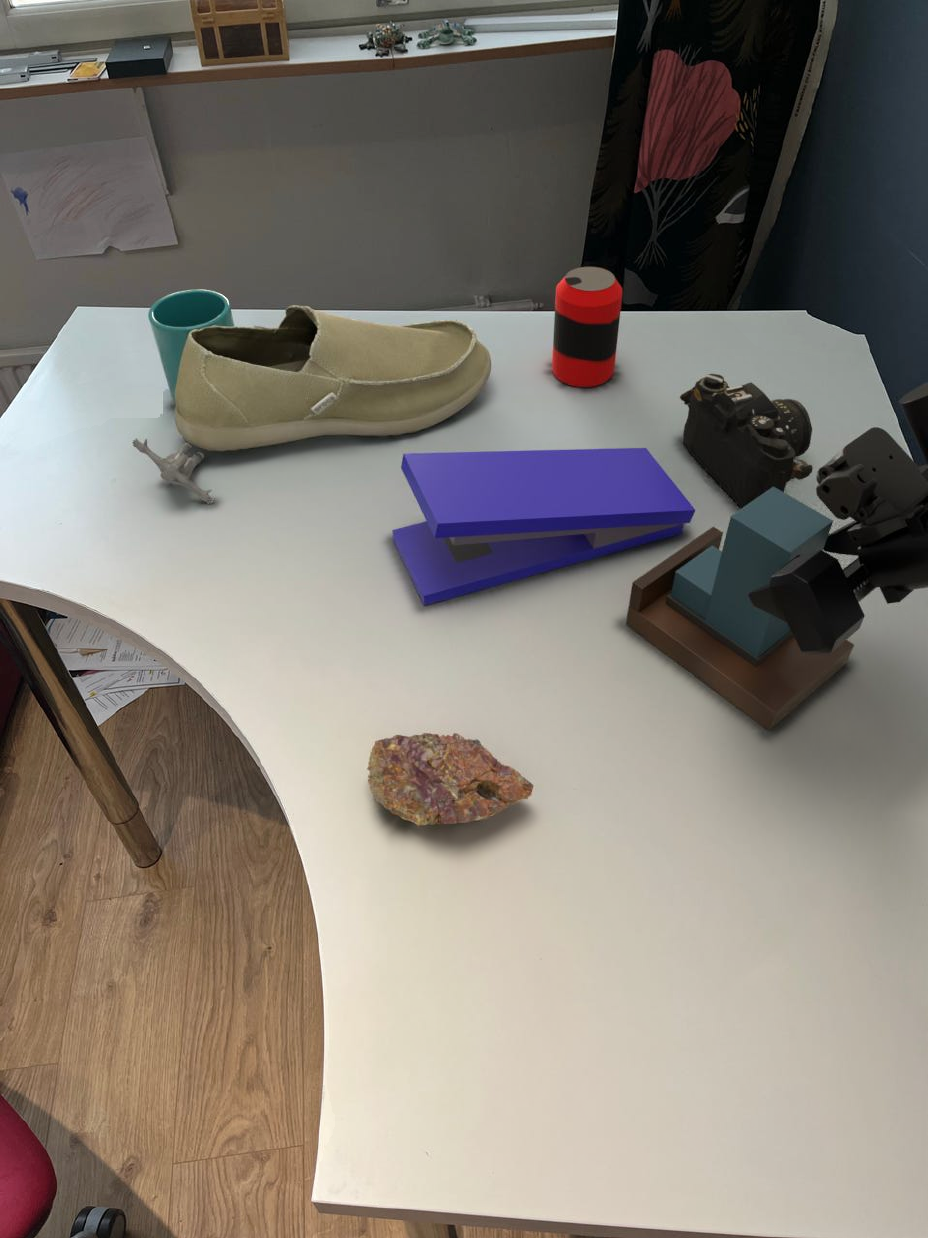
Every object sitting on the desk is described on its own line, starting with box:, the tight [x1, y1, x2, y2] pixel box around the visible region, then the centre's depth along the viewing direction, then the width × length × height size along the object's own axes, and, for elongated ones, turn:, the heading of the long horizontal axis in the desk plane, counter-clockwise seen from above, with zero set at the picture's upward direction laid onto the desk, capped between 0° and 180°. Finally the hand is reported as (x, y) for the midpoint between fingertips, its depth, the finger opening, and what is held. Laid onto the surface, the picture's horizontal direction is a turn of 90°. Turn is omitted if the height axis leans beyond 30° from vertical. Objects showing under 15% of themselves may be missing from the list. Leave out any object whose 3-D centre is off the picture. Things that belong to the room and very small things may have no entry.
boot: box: [666, 487, 834, 667], centre depth 77 cm, size 10×6×13 cm, turn 41°
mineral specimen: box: [366, 732, 534, 827], centre depth 71 cm, size 12×8×7 cm
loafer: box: [174, 305, 492, 452], centre depth 103 cm, size 14×37×13 cm, turn 112°
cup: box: [147, 289, 236, 405], centre depth 109 cm, size 9×12×11 cm
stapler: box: [391, 447, 696, 606], centre depth 90 cm, size 12×28×10 cm, turn 110°
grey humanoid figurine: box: [131, 437, 215, 505], centre depth 98 cm, size 10×6×9 cm
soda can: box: [551, 266, 623, 388], centre depth 109 cm, size 8×8×12 cm
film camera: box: [679, 373, 813, 509], centre depth 96 cm, size 18×12×10 cm
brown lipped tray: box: [625, 526, 855, 731], centre depth 81 cm, size 16×11×6 cm
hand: (788, 571), depth 73 cm, fingers open, 9 cm apart
